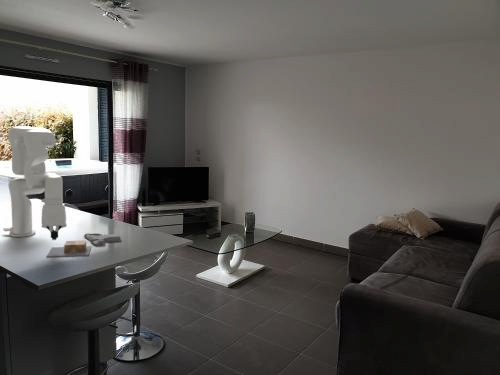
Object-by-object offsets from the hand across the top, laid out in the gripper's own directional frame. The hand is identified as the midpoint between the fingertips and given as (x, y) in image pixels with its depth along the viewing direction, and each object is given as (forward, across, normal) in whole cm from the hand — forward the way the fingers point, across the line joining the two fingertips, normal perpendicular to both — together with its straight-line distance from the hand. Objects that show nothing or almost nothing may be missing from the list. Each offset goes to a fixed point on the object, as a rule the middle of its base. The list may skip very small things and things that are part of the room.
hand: (54, 239), depth 184 cm
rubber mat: (+7, +7, 0) cm, 9 cm away
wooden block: (+4, +5, 0) cm, 6 cm away
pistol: (+7, +21, +20) cm, 30 cm away
